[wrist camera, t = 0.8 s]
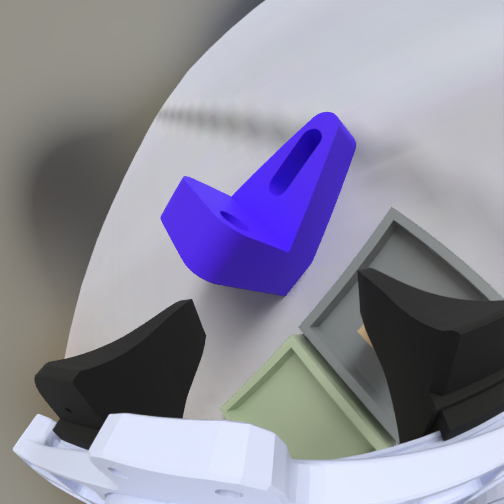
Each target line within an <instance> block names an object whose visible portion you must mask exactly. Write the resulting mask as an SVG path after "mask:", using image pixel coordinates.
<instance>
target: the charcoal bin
mask: <svg viewBox="0 0 504 504" xmlns="http://www.w3.org/2000/svg"><path fill="white" fill-rule="evenodd" d="M367 268H373V269H376V270H378V271H380V272H382V273H384V274H386V275H388V276H390V277H392V278H394V279H396V280H398V281H401V282H403V283H405V284H407V285H410V286H412V287H415V288H418V289H420V290H423V291H426V292H430V293H433V294H437V295H441V296H445V297H451V298H456V299H464V300H476V301H497V300H504V298H503V297H502V296H501V295H500V294H499V293H498V292H496V291H495V290H494V289H493V288H492V287H491V286H490V285H489V284H488V283H487V282H486V281H485V280H484V279H483V278H482V277H481V276H479V275H478V274H477V273H476V272H475V271H474V270H473V269H472V268H470V267H469V266H468V265H467V264H466V263H465V262H464V261H462V260H461V259H460V258H459V257H458V256H456V255H455V254H454V253H453V252H452V251H450V250H449V249H448V248H447V247H445V246H444V245H443V244H442V243H440V242H439V241H438V240H437V239H435V238H434V237H433V236H431V235H430V234H429V233H427V232H426V231H425V230H423V229H422V228H421V227H419V226H418V225H417V224H415V223H414V222H413V221H411V220H410V219H408V218H407V217H406V216H404V215H403V214H401V213H400V212H398V211H397V210H396V209H394V208H393V207H391V208H390V210H389V211H388V213H387V214H386V216H385V217H384V219H383V220H382V221H381V223H380V224H379V226H378V227H377V229H376V230H375V231H374V233H373V234H372V236H371V237H370V238H369V240H368V241H367V242H366V244H365V245H364V246H363V248H362V249H361V250H360V252H359V253H358V254H357V256H356V257H355V258H354V260H353V261H352V262H351V264H350V265H349V266H348V268H347V269H346V270H345V271H344V273H343V274H342V275H341V277H340V278H339V279H338V280H337V282H336V283H335V284H334V285H333V287H332V288H331V289H330V290H329V291H328V293H327V294H326V295H325V296H324V298H323V299H322V300H321V301H320V302H319V304H318V305H317V306H316V307H315V308H314V310H313V311H312V312H311V313H310V314H309V315H308V317H307V318H306V319H305V320H304V321H303V322H302V324H301V325H300V326H299V328H300V330H301V331H302V332H303V333H304V334H305V336H306V337H307V338H308V339H309V340H310V342H311V343H312V344H313V345H314V346H315V347H316V349H317V350H318V351H319V352H320V353H321V355H322V356H323V357H324V358H325V359H326V360H327V362H328V363H329V364H330V365H331V366H332V368H333V369H334V370H335V371H336V372H337V373H338V375H339V376H340V377H341V378H342V379H343V380H344V382H345V383H346V384H347V385H348V386H349V387H350V389H351V390H352V391H353V392H354V393H355V394H356V396H357V397H358V398H359V399H360V400H361V401H362V403H363V404H364V405H365V406H366V407H367V408H368V410H369V411H370V412H371V413H372V414H373V415H374V416H375V418H376V419H377V420H378V421H379V422H380V423H381V424H382V426H383V427H384V428H385V429H386V430H387V431H388V433H389V434H390V435H391V436H392V437H393V438H394V439H395V441H396V442H397V443H398V444H400V442H399V435H398V429H397V423H396V418H395V413H394V408H393V404H392V400H391V395H390V392H389V388H388V384H387V380H386V377H385V374H384V371H383V369H382V366H381V364H380V362H379V359H378V357H377V355H376V352H375V350H374V349H373V348H372V347H371V346H370V345H369V343H368V342H367V341H366V340H365V339H364V338H363V337H362V336H361V335H360V334H359V333H358V332H357V331H358V330H359V329H360V328H361V327H362V325H363V320H362V317H361V314H360V303H359V288H358V275H357V270H362V269H367Z"/></svg>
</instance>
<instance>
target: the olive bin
mask: <svg viewBox="0 0 504 504" xmlns="http://www.w3.org/2000/svg"><path fill="white" fill-rule="evenodd" d="M220 410H221V412H222V414H223V415H224V417H225V419H226V420H229V421H238V422H247V423H251V424H254V425H256V426H259V427H262V428H264V429H267V430H270V431H272V432H274V433H275V434H276V435H277V436H278V437H279V438H280V439H281V440H282V441H283V442H284V443H285V444H286V445H287V448H288V451H289V453H290V456H291V458H292V459H302V460H333V459H339V458H345V457H350V456H355V455H360V454H364V453H369V452H373V451H377V450H381V449H385V448H389V447H392V446H393V445H394V444H395V442H396V441H395V439H394V438H393V437H392V436H391V435H390V434H389V433H388V431H387V430H386V429H385V428H384V427H383V426H382V424H381V423H380V422H379V421H378V420H377V419H376V418H375V416H374V415H373V414H372V413H371V412H370V411H369V410H368V408H367V407H366V406H365V405H364V404H363V403H362V401H361V400H360V399H359V398H358V397H357V396H356V394H355V393H354V392H353V391H352V390H351V389H350V387H349V386H348V385H347V384H346V383H345V382H344V380H343V379H342V378H341V377H340V376H339V375H338V373H337V372H336V371H335V370H334V369H333V368H332V366H331V365H330V364H329V363H328V362H327V360H326V359H325V358H324V357H323V356H322V355H321V353H320V352H319V351H318V350H317V349H316V347H315V346H314V345H313V344H312V343H311V342H310V340H309V339H308V338H307V337H306V336H305V334H298V335H291V336H290V337H289V338H288V339H287V340H286V342H285V343H284V344H283V345H282V346H281V347H280V348H279V349H278V350H277V351H276V352H275V353H274V355H273V356H272V357H271V358H270V359H269V360H268V361H267V362H266V363H265V364H264V365H263V366H262V367H261V368H260V369H259V370H258V371H257V372H256V373H255V374H254V375H253V376H252V377H251V379H250V380H249V381H248V382H247V383H246V384H245V385H244V386H243V387H242V388H241V389H240V390H238V391H237V392H236V393H235V394H234V395H233V396H232V397H231V398H230V399H229V400H228V401H227V402H226V403H225V404H224V405H223V406H222V407H221V408H220Z"/></svg>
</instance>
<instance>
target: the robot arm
mask: <svg viewBox="0 0 504 504" xmlns="http://www.w3.org/2000/svg"><path fill="white" fill-rule="evenodd" d="M357 275H358V288H359V303H360V314H361V317H362V320H363V324H364V327H365V330H366V332H367V335H368V337H369V339H370V341H371V344H372V346H373V348H374V350H375V352H376V355H377V357H378V359H379V362H380V364H381V366H382V369H383V371H384V374H385V377H386V380H387V384H388V388H389V392H390V395H391V400H392V404H393V408H394V413H395V418H396V423H397V429H398V435H399V442H400V444H399V445H396V446H392V447H389V448H385V449H381V450H377V451H373V452H369V453H364V454H360V455H355V456H350V457H345V458H339V459H333V460H302V459H292V458H291V456H290V453H289V451H288V448H287V445H286V444H285V443H284V442H283V441H282V440H281V439H280V438H279V437H278V436H277V435H276V434H275V433H274V432H272V431H270V430H267V429H264V428H262V427H259V426H256V425H254V424H251V423H247V422H238V421H229V420H204V419H182V418H183V413H184V408H185V404H186V399H187V396H188V393H189V390H190V387H191V384H192V382H193V379H194V376H195V374H196V371H197V368H198V366H199V363H200V360H201V357H202V354H203V350H204V345H205V339H206V334H205V332H204V329H203V327H202V324H201V322H200V319H199V316H198V314H197V311H196V308H195V306H194V303H193V300H192V299H189V300H182V301H178V302H176V303H174V304H173V305H171V306H170V307H168V308H167V309H165V310H164V311H162V312H161V313H159V314H158V315H156V316H155V317H153V318H152V319H151V320H149V321H148V322H146V323H145V324H143V325H141V326H140V327H138V328H137V329H135V330H134V331H132V332H130V333H129V334H127V335H125V336H124V337H122V338H120V339H118V340H116V341H114V342H112V343H110V344H108V345H105V346H103V347H100V348H98V349H96V350H93V351H91V352H88V353H85V354H81V355H78V356H75V357H71V358H67V359H62V360H58V361H52V362H48V363H46V364H45V365H44V366H43V367H42V368H41V370H40V371H39V372H38V373H37V374H36V375H35V384H36V387H37V389H38V391H39V392H40V394H41V395H42V397H43V398H44V399H45V401H46V402H47V403H48V404H49V406H50V407H51V408H52V409H53V411H54V412H55V413H56V414H57V415H58V416H59V418H60V420H59V421H58V422H57V423H56V422H55V421H54V420H52V419H50V418H48V417H45V416H43V415H40V414H37V416H36V417H35V418H34V420H33V421H32V422H31V424H30V425H29V426H28V428H27V429H26V430H25V432H24V433H23V435H22V436H21V438H20V439H19V440H18V442H17V443H16V445H15V446H14V448H13V451H14V452H15V453H16V454H17V455H18V456H19V457H20V458H21V459H23V460H24V461H25V462H26V463H27V464H28V465H29V466H30V467H32V468H33V469H34V470H35V471H36V472H38V473H39V474H40V475H41V476H42V477H44V478H45V479H46V480H47V481H49V482H50V483H51V484H53V485H55V486H57V487H58V488H60V489H62V490H63V491H65V492H67V493H69V494H70V495H72V496H74V497H76V498H77V499H79V500H81V501H83V502H85V503H87V504H504V300H497V301H476V300H464V299H456V298H451V297H445V296H441V295H437V294H433V293H430V292H426V291H423V290H420V289H418V288H415V287H412V286H410V285H407V284H405V283H403V282H401V281H398V280H396V279H394V278H392V277H390V276H388V275H386V274H384V273H382V272H380V271H378V270H376V269H373V268H367V269H362V270H357Z"/></svg>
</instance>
